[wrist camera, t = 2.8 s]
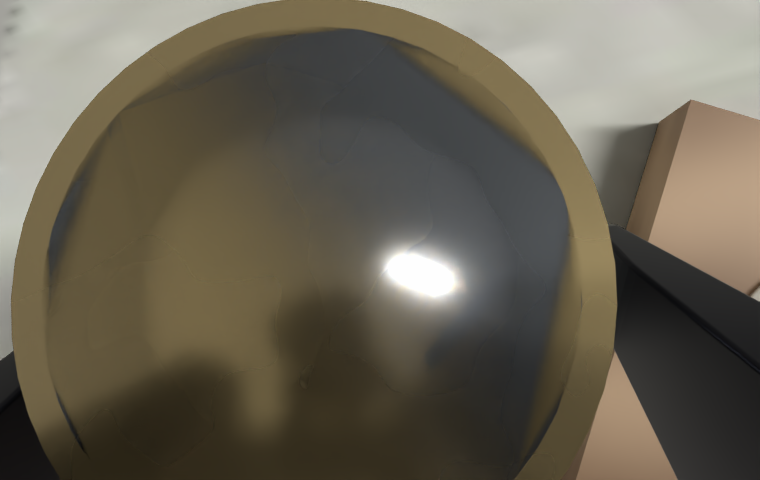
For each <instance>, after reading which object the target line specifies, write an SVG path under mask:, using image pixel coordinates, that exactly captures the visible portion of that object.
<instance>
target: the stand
mask: <svg viewBox="0 0 760 480" xmlns="http://www.w3.org/2000/svg"><path fill="white" fill-rule="evenodd" d="M626 230H627V231H629V232H631V233H633V234H635V235H637V236H638V237H640V238H642V239H644V240H646V241H648V242H650V243H652V244H653V245H655V246H657V247H659V248H661V249H663V250H665V251H666V252H668V253H670V254H672V255H674V256H676V257H678V258H679V259H681V260H683V261H685V262H687V263H689V264H691V265H692V266H694V267H696V268H698V269H700V270H702V271H704V272H706V273H707V274H709V275H711V276H713V277H715V278H717V279H719V280H720V281H722V282H724V283H726V284H728V285H730V286H732V287H733V288H735V289H737V290H739V291H741V292H743V293H745V294H747V295H748V296H750V297H752V298H754V299H756V300H758V301H760V120H757V119H754V118H751V117H747V116H744V115H741V114H737V113H734V112H731V111H727V110H724V109H721V108H717V107H714V106H711V105H707V104H704V103H701V102H698V101H694V100H690V101H688V102H687V103H686V104H684V105H683V106H681V107H680V108H679V109H677V110H676V111H674V112H673V113H671V114H670V115H669V116H667V117H666V118H664V119H663V120H661V121H660V122H659V124H658V127H657V130H656V134H655V137H654V140H653V143H652V146H651V150H650V153H649V156H648V159H647V163H646V166H645V169H644V172H643V176H642V179H641V182H640V185H639V189H638V192H637V195H636V198H635V202H634V205H633V208H632V211H631V214H630V218H629V221H628V224H627V227H626ZM561 480H677V477H676V475H675V473H674V471H673V469H672V467H671V465H670V463H669V461H668V459H667V457H666V455H665V453H664V451H663V449H662V447H661V445H660V443H659V441H658V439H657V436H656V434H655V432H654V430H653V428H652V426H651V424H650V422H649V420H648V418H647V416H646V414H645V412H644V410H643V408H642V406H641V404H640V402H639V400H638V398H637V395H636V393H635V391H634V389H633V387H632V385H631V383H630V381H629V379H628V377H627V375H626V373H625V371H624V369H623V367H622V365H621V363H620V361H619V359H618V357H617V354H616V352H615V350H614V349H613V353H612V357H611V362H610V366H609V371H608V375H607V380H606V384H605V389H604V392H603V395H602V397H601V400H600V403H599V405H598V408H597V411H596V413H595V416H594V419H593V421H592V424H591V427H590V430H589V432H588V433H587V435H586V437H585V439H584V441H583V443H582V445H581V447H580V448H579V450H578V452H577V454H576V456H575V458H574V460H573V461H572V463H571V465H570V467H569V469H568V470H567V472H566V473H565V474H564V476H563V477H562V478H561Z"/></svg>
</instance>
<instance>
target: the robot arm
mask: <svg viewBox="0 0 760 480" xmlns="http://www.w3.org/2000/svg"><path fill="white" fill-rule="evenodd" d="M608 228H609V233H610V239H611V244H612V249H613V255H614V260H615V270H616V290H617V314H616V326H615V338H614V350H615V352H616V354H617V357H618V359H619V361H620V363H621V365H622V367H623V369H624V371H625V373H626V375H627V377H628V379H629V381H630V383H631V385H632V387H633V389H634V391H635V393H636V395H637V398H638V400H639V402H640V404H641V406H642V408H643V410H644V412H645V414H646V416H647V418H648V420H649V422H650V424H651V426H652V428H653V430H654V432H655V434H656V436H657V439H658V441H659V443H660V445H661V447H662V449H663V451H664V453H665V455H666V457H667V459H668V461H669V463H670V465H671V467H672V469H673V471H674V473H675V475H676V477H677V480H760V301H758V300H756V299H754V298H752V297H750V296H748V295H747V294H745V293H743V292H741V291H739V290H737V289H735V288H733V287H732V286H730V285H728V284H726V283H724V282H722V281H720V280H719V279H717V278H715V277H713V276H711V275H709V274H707V273H706V272H704V271H702V270H700V269H698V268H696V267H694V266H692V265H691V264H689V263H687V262H685V261H683V260H681V259H679V258H678V257H676V256H674V255H672V254H670V253H668V252H666V251H665V250H663V249H661V248H659V247H657V246H655V245H653V244H652V243H650V242H648V241H646V240H644V239H642V238H640V237H638V236H637V235H635V234H633V233H631V232H629V231H627V230H625V229H624V228H622V227H620V226H618V225H615V224H609V225H608ZM0 480H61V479H60V477H59V476H58V474H57V472H56V471H55V469H54V467H53V466H52V464H51V462H50V461H49V459H48V457H47V456H46V454H45V452H44V450H43V448H42V445H41V443H40V441H39V438H38V436H37V434H36V432H35V429H34V427H33V425H32V422H31V420H30V418H29V415H28V412H27V408H26V405H25V401H24V398H23V394H22V390H21V387H20V383H19V380H18V376H17V369H16V362H15V355H14V351H13V352H11V353H10V354H9V355H7V356H6V357H5V358H3V359H2V360H1V361H0Z"/></svg>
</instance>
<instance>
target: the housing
mask: <svg viewBox="0 0 760 480" xmlns="http://www.w3.org/2000/svg"><path fill="white" fill-rule="evenodd" d="M616 314H617V290H616V270H615V260H614V255H613V249H612V244H611V239H610V233H609V228H608V223H607V220H606V217H605V214H604V210H603V207H602V204H601V201H600V198H599V195H598V192H597V189H596V186H595V183H594V181H593V179H592V177H591V175H590V173H589V171H588V169H587V167H586V165H585V163H584V161H583V159H582V156H581V154H580V152H579V150H578V148H577V147H576V145H575V144H574V142H573V141H572V139H571V138H570V136H569V134H568V133H567V131H566V130H565V128H564V127H563V125H562V124H561V122H560V121H559V119H558V118H557V116H556V115H555V114H554V113H553V111H552V110H551V109H550V108H549V107H548V106H547V104H546V103H545V102H544V101H543V100H542V99H541V97H540V96H539V95H538V94H537V93H536V92H535V90H534V89H533V88H532V87H531V86H530V85H529V84H528V83H527V82H526V81H525V80H523V79H522V78H521V77H520V76H519V75H518V74H517V73H516V72H514V71H513V70H512V69H511V68H510V67H509V66H508V65H507V64H506V63H504V62H503V61H502V60H501V59H499V58H498V57H496V56H495V55H493V54H492V53H491V52H489V51H488V50H486V49H485V48H483V47H482V46H480V45H479V44H477V43H476V42H475V41H473V40H472V39H470V38H468V37H466V36H464V35H462V34H460V33H458V32H456V31H454V30H452V29H450V28H448V27H446V26H444V25H443V24H441V23H439V22H436V21H434V20H431V19H428V18H425V17H422V16H420V15H417V14H414V13H411V12H409V11H406V10H403V9H399V8H395V7H390V6H386V5H381V4H377V3H372V2H368V1H359V0H281V1H275V2H268V3H262V4H256V5H252V6H249V7H245V8H242V9H238V10H234V11H231V12H227V13H224V14H220V15H218V16H216V17H213V18H211V19H208V20H206V21H204V22H201V23H199V24H196V25H194V26H192V27H189V28H187V29H185V30H183V31H182V32H180V33H178V34H176V35H174V36H173V37H171V38H169V39H167V40H166V41H164V42H162V43H160V44H158V45H157V46H155V47H154V48H152V49H151V50H150V51H148V52H147V53H145V54H144V55H143V56H141V57H140V58H139V59H137V60H136V61H135V62H133V63H132V64H130V65H129V66H128V67H126V68H125V69H124V70H123V71H122V72H121V73H120V74H119V75H118V76H116V77H115V78H114V79H113V80H112V81H111V82H110V83H109V84H108V85H107V86H106V87H105V88H104V89H103V90H101V91H100V92H99V93H98V94H97V96H96V97H95V98H94V99H93V100H92V101H91V103H90V104H89V105H88V106H87V107H86V109H85V110H84V111H83V112H82V113H81V114H80V116H79V117H78V118H77V119H76V120H75V122H74V123H73V124H72V126H71V128H70V129H69V131H68V132H67V134H66V135H65V137H64V138H63V140H62V141H61V143H60V144H59V146H58V147H57V149H56V150H55V152H54V153H53V155H52V157H51V159H50V161H49V163H48V165H47V167H46V169H45V171H44V173H43V175H42V177H41V179H40V181H39V183H38V185H37V187H36V190H35V193H34V195H33V198H32V201H31V204H30V207H29V209H28V212H27V215H26V218H25V221H24V223H23V228H22V232H21V237H20V241H19V245H18V250H17V254H16V258H15V266H14V275H13V285H12V295H11V318H12V342H13V349H14V355H15V362H16V369H17V376H18V380H19V383H20V387H21V390H22V394H23V398H24V401H25V405H26V408H27V412H28V415H29V418H30V420H31V422H32V425H33V427H34V429H35V432H36V434H37V436H38V438H39V441H40V443H41V445H42V448H43V450H44V452H45V454H46V456H47V457H48V459H49V461H50V462H51V464H52V466H53V467H54V469H55V471H56V472H57V474H58V476H59V477H60V479H61V480H561V478H562V477H563V476H564V474H565V473H566V472H567V470H568V469H569V467H570V465H571V463H572V461H573V460H574V458H575V456H576V454H577V452H578V450H579V448H580V447H581V445H582V443H583V441H584V439H585V437H586V435H587V433H588V432H589V430H590V427H591V424H592V421H593V419H594V416H595V413H596V411H597V408H598V405H599V403H600V400H601V397H602V395H603V392H604V389H605V384H606V380H607V375H608V371H609V366H610V362H611V357H612V353H613V349H614V338H615V326H616Z"/></svg>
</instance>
